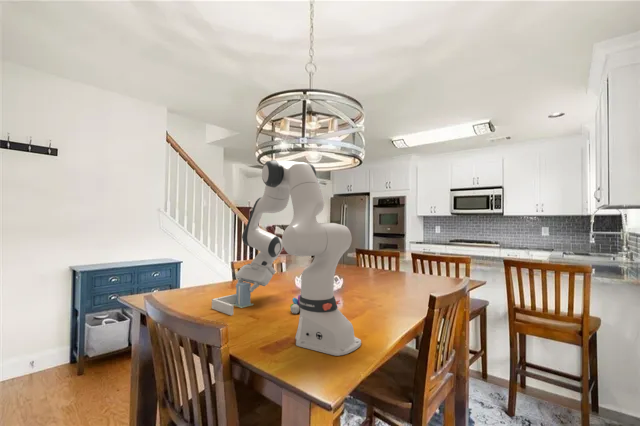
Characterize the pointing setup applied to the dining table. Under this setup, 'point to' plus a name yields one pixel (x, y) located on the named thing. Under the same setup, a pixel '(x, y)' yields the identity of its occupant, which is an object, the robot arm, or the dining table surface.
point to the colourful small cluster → (295, 305)
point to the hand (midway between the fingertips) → (243, 289)
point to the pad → (242, 306)
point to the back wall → (227, 299)
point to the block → (243, 294)
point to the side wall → (223, 307)
